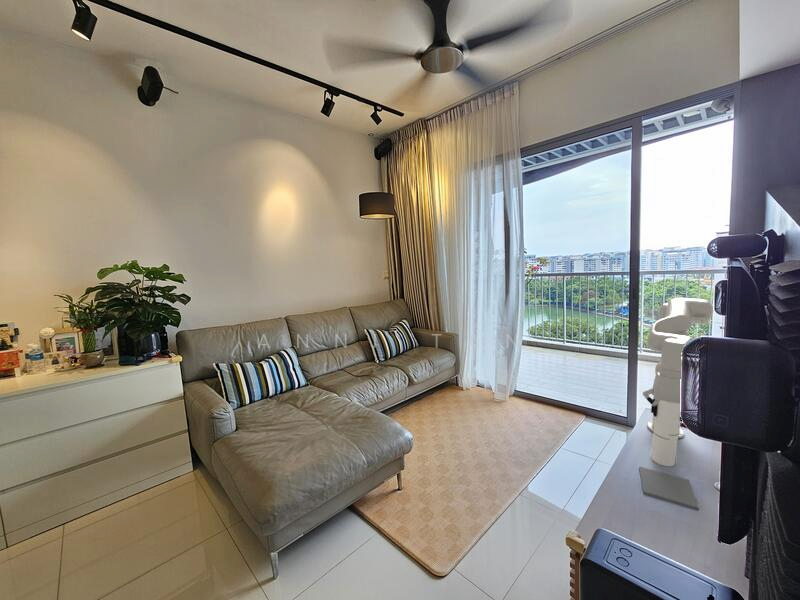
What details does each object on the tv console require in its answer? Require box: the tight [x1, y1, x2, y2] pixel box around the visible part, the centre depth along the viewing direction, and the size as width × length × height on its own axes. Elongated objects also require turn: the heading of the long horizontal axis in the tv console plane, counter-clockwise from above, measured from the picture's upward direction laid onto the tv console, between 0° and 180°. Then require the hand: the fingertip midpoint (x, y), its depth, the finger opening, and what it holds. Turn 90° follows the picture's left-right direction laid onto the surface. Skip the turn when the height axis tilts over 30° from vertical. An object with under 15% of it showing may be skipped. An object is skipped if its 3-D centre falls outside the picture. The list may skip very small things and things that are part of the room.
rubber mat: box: [638, 466, 700, 510], centre depth 112 cm, size 14×14×1 cm
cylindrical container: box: [650, 400, 681, 467], centre depth 123 cm, size 7×7×25 cm
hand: (667, 417), depth 122 cm, fingers closed on cylindrical container, 7 cm apart
